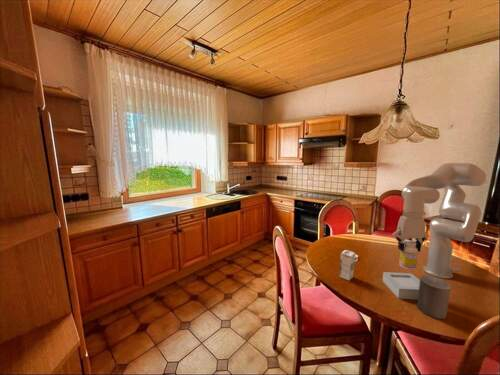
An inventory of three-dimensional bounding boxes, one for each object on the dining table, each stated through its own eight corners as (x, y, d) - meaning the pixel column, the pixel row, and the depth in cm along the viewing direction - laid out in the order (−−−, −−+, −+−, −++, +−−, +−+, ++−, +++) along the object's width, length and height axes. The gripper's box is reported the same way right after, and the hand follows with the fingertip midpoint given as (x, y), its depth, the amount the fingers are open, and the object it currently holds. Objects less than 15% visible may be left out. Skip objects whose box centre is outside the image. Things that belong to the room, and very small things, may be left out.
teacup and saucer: (356, 256, 139) (356, 250, 138) (361, 262, 131) (361, 256, 130) (342, 255, 140) (343, 250, 139) (347, 261, 132) (347, 255, 131)
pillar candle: (412, 308, 90) (416, 276, 88) (422, 300, 95) (426, 270, 93) (441, 323, 82) (446, 288, 80) (450, 313, 87) (455, 280, 85)
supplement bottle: (399, 261, 106) (401, 238, 104) (416, 265, 101) (418, 241, 99) (398, 267, 100) (400, 242, 99) (415, 271, 96) (418, 245, 94)
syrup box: (343, 272, 118) (344, 249, 116) (353, 277, 114) (355, 252, 112) (338, 277, 114) (340, 252, 112) (350, 281, 110) (351, 256, 108)
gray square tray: (410, 282, 109) (411, 273, 108) (430, 300, 95) (431, 290, 94) (382, 280, 110) (383, 272, 110) (398, 298, 97) (399, 288, 96)
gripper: (426, 212, 100) (422, 247, 102) (388, 212, 102) (385, 246, 104) (438, 217, 92) (434, 254, 95) (397, 216, 94) (394, 253, 97)
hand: (409, 249), depth 100 cm, fingers closed on supplement bottle, 6 cm apart
